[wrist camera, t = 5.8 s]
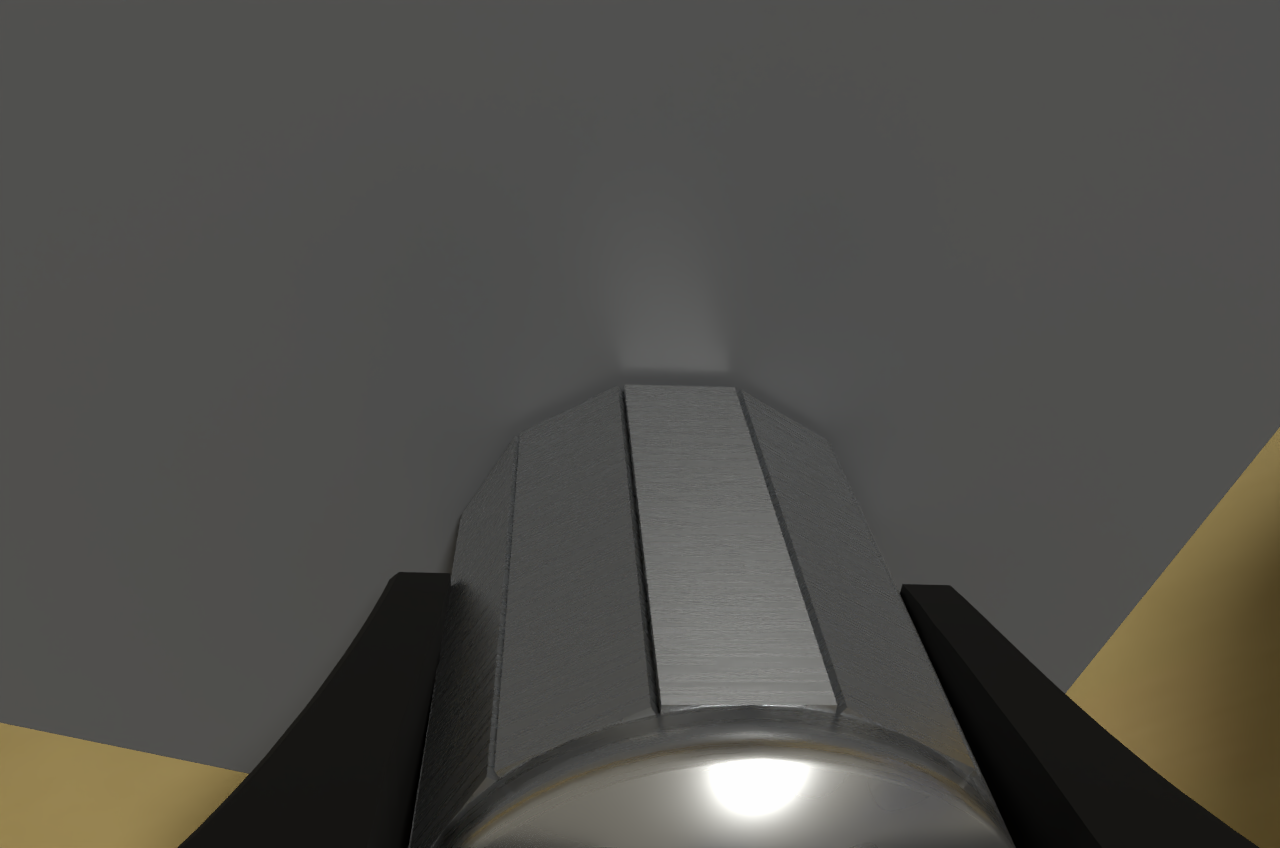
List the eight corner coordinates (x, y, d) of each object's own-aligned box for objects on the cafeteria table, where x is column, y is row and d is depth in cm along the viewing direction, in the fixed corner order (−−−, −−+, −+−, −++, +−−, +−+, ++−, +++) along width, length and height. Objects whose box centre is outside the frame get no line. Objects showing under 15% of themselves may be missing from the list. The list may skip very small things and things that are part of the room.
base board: (1826, -377, 10) (1939, -395, 9) (879, 857, 19) (893, 905, 18) (-584, -2143, 6) (-801, -2514, 5) (-346, 591, 15) (-402, 639, 14)
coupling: (893, 391, 13) (1125, 764, 8) (828, 711, 15) (965, 1155, 10) (456, 379, 12) (376, 768, 7) (464, 711, 15) (410, 1174, 10)
